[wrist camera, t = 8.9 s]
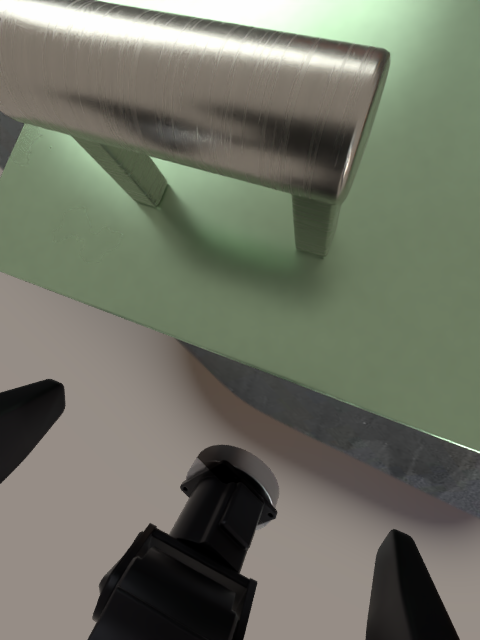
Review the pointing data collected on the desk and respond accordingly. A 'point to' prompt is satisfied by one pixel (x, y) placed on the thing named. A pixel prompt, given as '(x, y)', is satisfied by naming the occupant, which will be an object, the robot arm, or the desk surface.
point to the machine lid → (261, 185)
